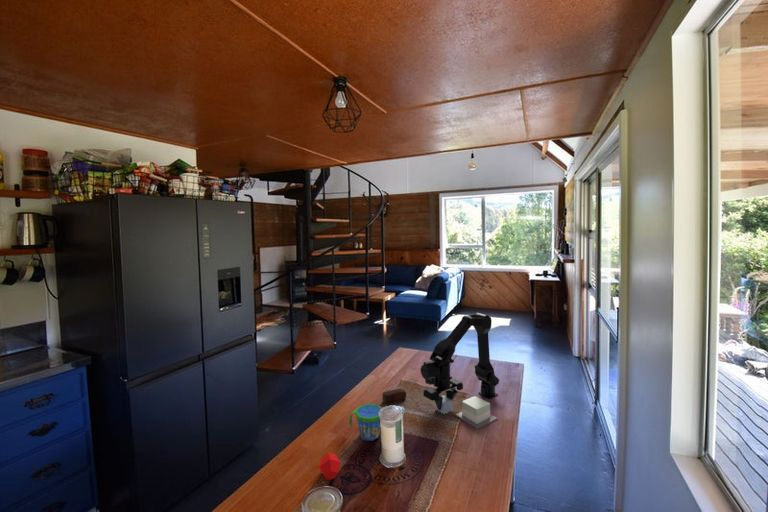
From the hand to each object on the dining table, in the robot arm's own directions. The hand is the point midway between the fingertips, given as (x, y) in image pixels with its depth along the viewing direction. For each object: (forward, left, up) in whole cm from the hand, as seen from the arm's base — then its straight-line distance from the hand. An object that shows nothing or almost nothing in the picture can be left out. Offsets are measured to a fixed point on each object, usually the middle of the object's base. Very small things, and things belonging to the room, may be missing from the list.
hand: (443, 408), depth 144 cm
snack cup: (+36, -3, -1) cm, 36 cm away
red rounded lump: (+57, +7, -1) cm, 57 cm away
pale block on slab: (-7, +12, -1) cm, 14 cm away
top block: (0, 0, -1) cm, 1 cm away
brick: (+13, -19, -1) cm, 23 cm away
